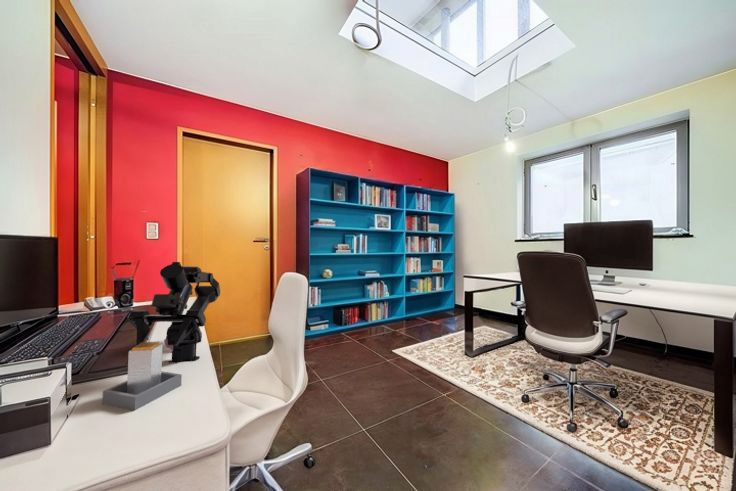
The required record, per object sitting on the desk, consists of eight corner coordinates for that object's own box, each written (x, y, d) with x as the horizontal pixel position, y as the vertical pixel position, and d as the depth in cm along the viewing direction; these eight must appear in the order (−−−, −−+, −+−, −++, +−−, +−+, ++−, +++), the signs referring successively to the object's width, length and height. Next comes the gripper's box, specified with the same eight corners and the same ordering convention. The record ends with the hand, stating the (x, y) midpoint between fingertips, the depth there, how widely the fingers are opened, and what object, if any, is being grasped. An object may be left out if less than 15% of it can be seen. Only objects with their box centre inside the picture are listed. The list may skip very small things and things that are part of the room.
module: (139, 389, 72) (141, 341, 72) (160, 388, 73) (162, 341, 73) (126, 400, 67) (128, 348, 67) (149, 398, 68) (151, 347, 68)
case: (152, 383, 77) (152, 369, 77) (181, 389, 75) (181, 374, 75) (102, 407, 65) (102, 391, 65) (134, 414, 63) (135, 397, 63)
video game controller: (176, 347, 108) (167, 332, 107) (188, 341, 110) (179, 326, 109) (169, 357, 99) (159, 340, 98) (182, 350, 101) (173, 334, 100)
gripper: (132, 282, 78) (102, 332, 67) (203, 282, 82) (186, 330, 71) (147, 304, 86) (122, 352, 75) (212, 303, 90) (197, 349, 79)
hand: (156, 346), depth 75 cm, fingers open, 9 cm apart
